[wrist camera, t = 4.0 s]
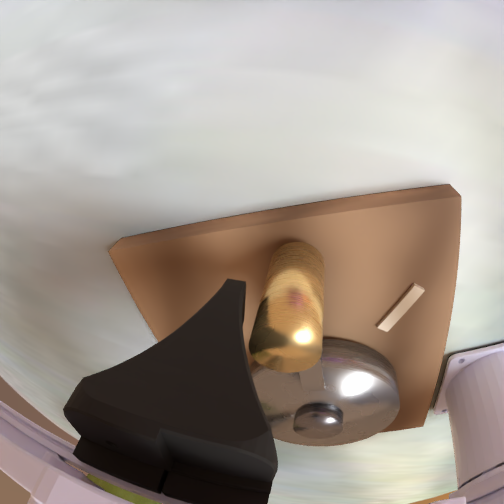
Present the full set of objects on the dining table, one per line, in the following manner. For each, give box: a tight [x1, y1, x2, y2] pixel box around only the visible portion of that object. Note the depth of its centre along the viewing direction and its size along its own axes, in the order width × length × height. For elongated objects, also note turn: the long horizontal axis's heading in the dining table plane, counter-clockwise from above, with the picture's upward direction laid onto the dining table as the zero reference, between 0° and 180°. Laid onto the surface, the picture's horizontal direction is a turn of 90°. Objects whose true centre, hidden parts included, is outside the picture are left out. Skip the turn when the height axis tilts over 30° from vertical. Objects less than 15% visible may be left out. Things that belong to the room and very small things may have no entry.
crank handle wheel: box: [249, 242, 400, 446], centre depth 15 cm, size 16×10×5 cm, turn 14°
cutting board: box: [108, 184, 461, 433], centre depth 19 cm, size 18×20×2 cm
